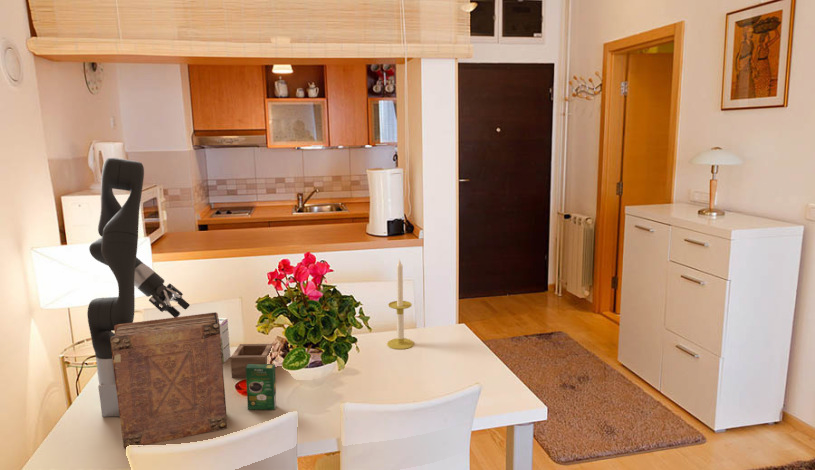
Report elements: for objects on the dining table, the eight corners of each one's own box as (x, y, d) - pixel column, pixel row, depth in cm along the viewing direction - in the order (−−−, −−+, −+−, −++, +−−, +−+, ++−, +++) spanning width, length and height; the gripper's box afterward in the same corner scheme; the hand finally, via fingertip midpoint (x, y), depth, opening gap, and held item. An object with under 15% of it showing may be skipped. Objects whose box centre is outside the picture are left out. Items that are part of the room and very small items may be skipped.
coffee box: (278, 405, 160) (275, 363, 157) (275, 410, 157) (272, 367, 154) (250, 405, 160) (247, 363, 157) (247, 410, 157) (244, 367, 154)
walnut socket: (266, 377, 177) (265, 357, 176) (232, 377, 177) (230, 357, 176) (273, 362, 188) (272, 343, 187) (241, 363, 188) (240, 344, 187)
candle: (402, 336, 210) (401, 254, 204) (419, 344, 203) (419, 259, 196) (381, 343, 204) (379, 258, 197) (398, 351, 196) (397, 263, 190)
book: (122, 449, 139) (108, 337, 133) (126, 431, 147) (113, 324, 141) (228, 428, 148) (219, 322, 142) (225, 412, 156) (217, 311, 150)
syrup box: (231, 356, 194) (228, 317, 191) (224, 363, 188) (220, 323, 185) (215, 355, 194) (212, 316, 192) (208, 362, 189) (204, 322, 186)
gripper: (143, 277, 178) (182, 311, 180) (161, 266, 192) (197, 297, 194) (128, 293, 179) (167, 326, 181) (148, 281, 193) (184, 312, 195)
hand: (183, 311), depth 188 cm, fingers open, 8 cm apart
